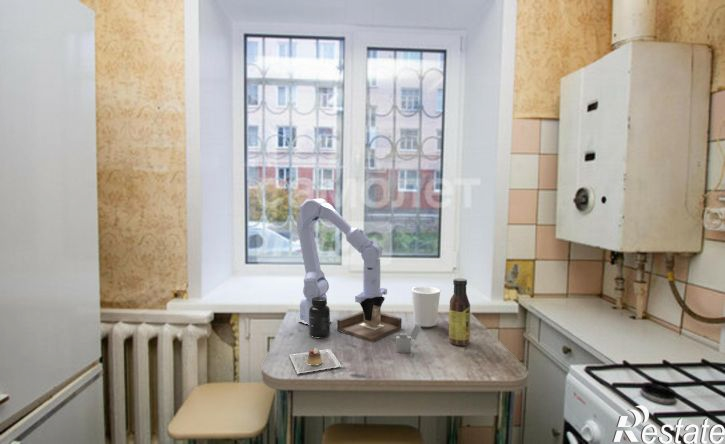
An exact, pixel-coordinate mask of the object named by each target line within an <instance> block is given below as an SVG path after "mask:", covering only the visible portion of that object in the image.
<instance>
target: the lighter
mask: <svg viewBox="0 0 725 444" xmlns="http://www.w3.org/2000/svg"><path fill="white" fill-rule="evenodd" d="M414 325H415V324H414ZM421 329H422V326H420V325H418V324H416V325H415V326H414V328H413V330H412V331H411V333H410V335H408V333H407V332H402V333H401V332H400V333H399V334H398V335H396V336H395V342H396V343H395V351H396V353H401V354H402V353H403V354H404V353H411V352H412V351H411V350H412V349H411V348H412V347H411V346H412V340H414V341H415V340H416V339H417V337H418V335H419V333H420V331H421Z"/></svg>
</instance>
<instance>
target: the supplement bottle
mask: <svg viewBox="0 0 725 444" xmlns="http://www.w3.org/2000/svg"><path fill="white" fill-rule="evenodd" d="M327 301H328V297H327V298H325V297H314V298H312V305H313V306H311V307H310V308H309V326H308V335H309V336H310V335H311V336H313V337H324V338H327V337H329V336H330V334H331V323H330V321H331V313H330V312H331V308H330V307H329V306H328V302H327ZM311 336H310V337H311ZM326 336H327V337H326ZM313 337H312V338H313Z"/></svg>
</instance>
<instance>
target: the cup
mask: <svg viewBox="0 0 725 444" xmlns="http://www.w3.org/2000/svg"><path fill="white" fill-rule="evenodd" d="M411 297H412V298H411V301H412V302H411V303H412V310H413V311H412V312H413V322H414V325H416V324H418V325H420V326H421V328H423V329H424V330H427V329H429V328H432V329H433V328H436V326H437V322H438V314H439V313H438V312H439V304H440V297H441V290H440V289H439V288H437V287H434V286H426V285H424V286H414V287H412V289H411Z"/></svg>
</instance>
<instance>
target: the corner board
mask: <svg viewBox="0 0 725 444" xmlns="http://www.w3.org/2000/svg"><path fill="white" fill-rule="evenodd" d="M402 321H403V320H402V317H397V316H394V315H391V314H387V313H383V312H381V322H380V325H377V326H371V325H368V324H365V323H364V312H363V310H361V311H358V312H356V313H354V314H351V315H347V316H346V317H343V318H339V319H337V321H336V322H337V326H336V327H337V328H336V329H338V330H340V331H339V332H341V331H343V332H342V333H344V332H345V333H344V334H347V333H348V335H350V334H351V335H350V336H353V337H356V338H358V339H362V340H364V341H366V342H367V341H368V342H369V343H370V342H374V341H376V340H379V339H381V338H383V337H385V336H387V335H390V334H392V333H395V332H397V331H399V330H401V329H402ZM338 330H337V331H338Z"/></svg>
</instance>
